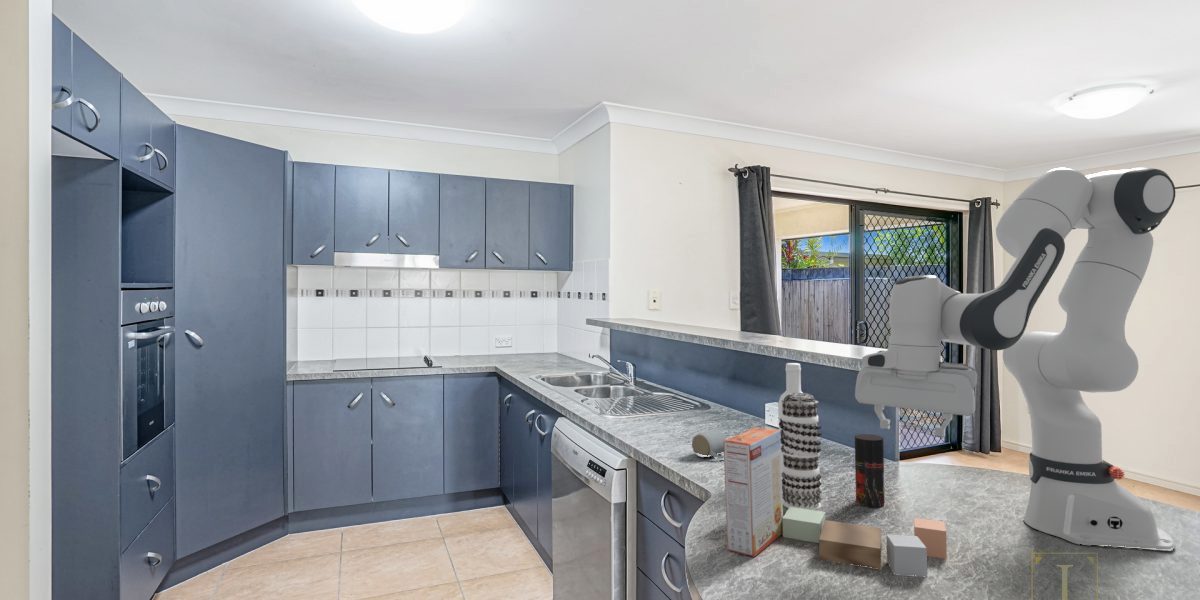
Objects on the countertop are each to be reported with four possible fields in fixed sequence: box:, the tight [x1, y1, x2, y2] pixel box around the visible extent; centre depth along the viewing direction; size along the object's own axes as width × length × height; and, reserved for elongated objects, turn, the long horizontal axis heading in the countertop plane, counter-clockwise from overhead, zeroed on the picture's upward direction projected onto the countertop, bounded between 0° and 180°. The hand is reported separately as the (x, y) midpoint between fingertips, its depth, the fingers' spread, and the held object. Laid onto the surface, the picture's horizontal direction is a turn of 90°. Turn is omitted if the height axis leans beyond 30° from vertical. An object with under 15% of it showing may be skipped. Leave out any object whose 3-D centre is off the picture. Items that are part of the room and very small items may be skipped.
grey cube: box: [885, 533, 928, 578], centre depth 103 cm, size 5×5×5 cm
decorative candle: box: [778, 392, 823, 511], centre depth 135 cm, size 9×9×25 cm
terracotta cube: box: [913, 517, 948, 559], centre depth 110 cm, size 5×5×5 cm
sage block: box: [782, 507, 826, 544], centre depth 119 cm, size 7×7×4 cm
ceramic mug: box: [691, 428, 727, 458], centre depth 177 cm, size 11×8×8 cm
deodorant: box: [854, 433, 885, 509], centre depth 135 cm, size 6×6×15 cm
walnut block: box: [818, 519, 883, 570], centre depth 109 cm, size 10×10×4 cm
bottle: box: [777, 362, 804, 479], centre depth 153 cm, size 8×8×30 cm
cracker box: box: [723, 426, 784, 558], centre depth 115 cm, size 14×6×21 cm, turn 141°
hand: (911, 432), depth 113 cm, fingers open, 8 cm apart
